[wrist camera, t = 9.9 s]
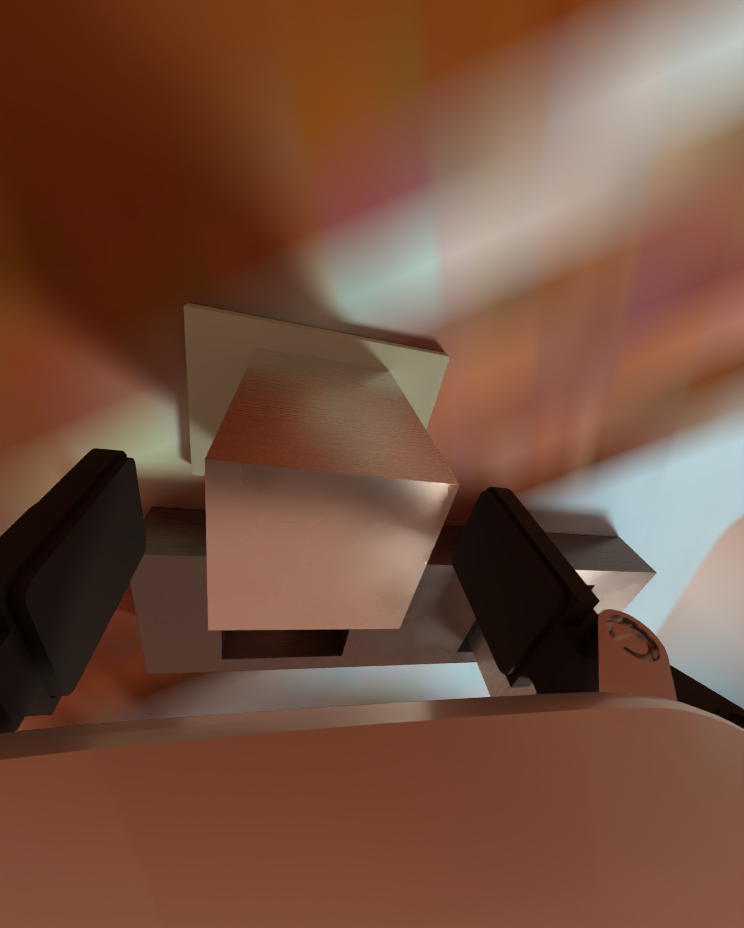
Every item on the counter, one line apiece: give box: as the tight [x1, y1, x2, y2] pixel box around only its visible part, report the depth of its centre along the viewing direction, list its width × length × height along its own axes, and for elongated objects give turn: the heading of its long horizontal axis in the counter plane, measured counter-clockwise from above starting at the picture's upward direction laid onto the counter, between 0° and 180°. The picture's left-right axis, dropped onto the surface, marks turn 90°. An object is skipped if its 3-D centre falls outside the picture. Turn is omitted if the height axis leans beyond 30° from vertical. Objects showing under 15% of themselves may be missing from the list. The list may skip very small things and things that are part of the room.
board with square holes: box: [130, 507, 656, 674], centre depth 21 cm, size 9×28×3 cm, turn 77°
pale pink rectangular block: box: [205, 347, 460, 630], centre depth 12 cm, size 5×5×8 cm
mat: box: [183, 303, 450, 476], centre depth 15 cm, size 7×10×1 cm
